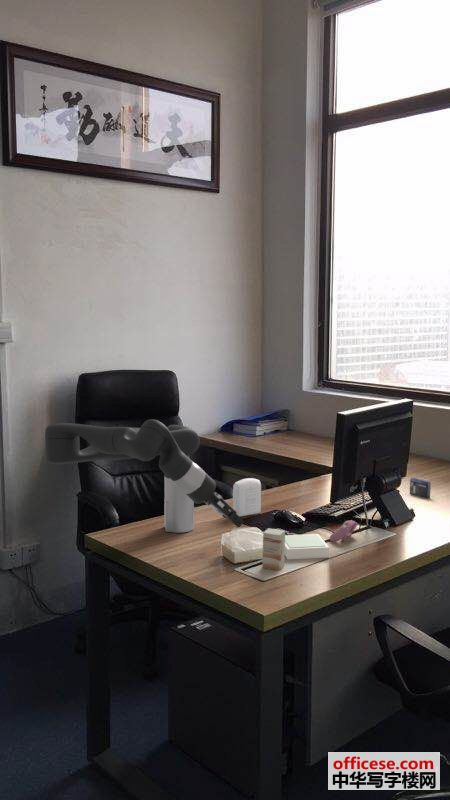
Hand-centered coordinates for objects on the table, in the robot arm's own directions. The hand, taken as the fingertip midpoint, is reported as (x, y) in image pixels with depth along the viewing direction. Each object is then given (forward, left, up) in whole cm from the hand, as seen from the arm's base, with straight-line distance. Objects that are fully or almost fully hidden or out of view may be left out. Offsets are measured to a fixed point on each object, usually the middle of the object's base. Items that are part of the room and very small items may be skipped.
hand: (234, 519), depth 191 cm
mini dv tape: (+80, +68, -15) cm, 106 cm away
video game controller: (+37, +24, -15) cm, 47 cm away
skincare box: (+11, +3, -15) cm, 19 cm away
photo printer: (+12, +53, -15) cm, 56 cm away
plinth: (+22, +14, -15) cm, 30 cm away
